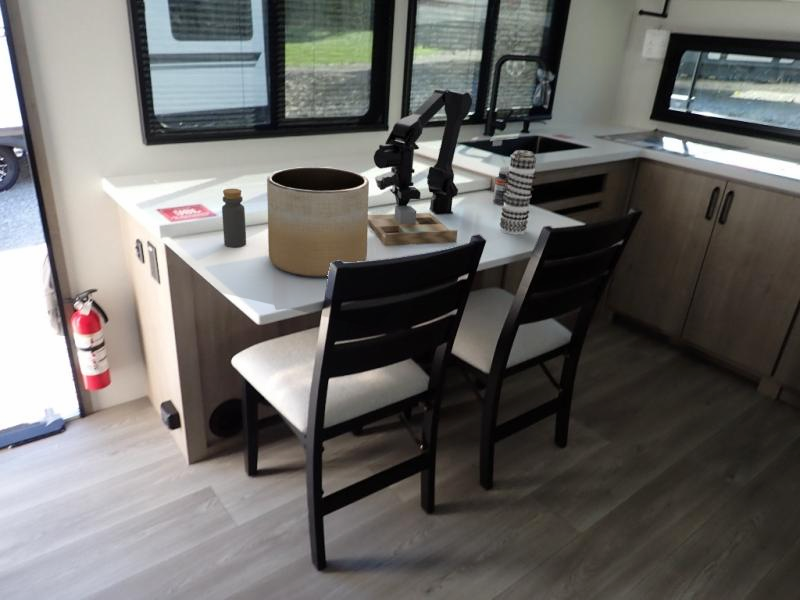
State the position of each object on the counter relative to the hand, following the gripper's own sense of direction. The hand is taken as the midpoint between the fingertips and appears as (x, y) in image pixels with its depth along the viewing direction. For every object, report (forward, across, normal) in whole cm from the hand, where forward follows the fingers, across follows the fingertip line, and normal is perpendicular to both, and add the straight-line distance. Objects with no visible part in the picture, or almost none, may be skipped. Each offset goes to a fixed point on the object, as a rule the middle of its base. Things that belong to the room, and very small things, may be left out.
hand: (400, 213), depth 187 cm
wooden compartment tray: (+3, +9, 0) cm, 9 cm away
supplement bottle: (+3, -18, +45) cm, 48 cm away
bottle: (+3, +13, -52) cm, 54 cm away
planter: (+3, +29, -32) cm, 43 cm away
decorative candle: (+3, +12, +34) cm, 37 cm away
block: (+1, +5, 0) cm, 5 cm away
